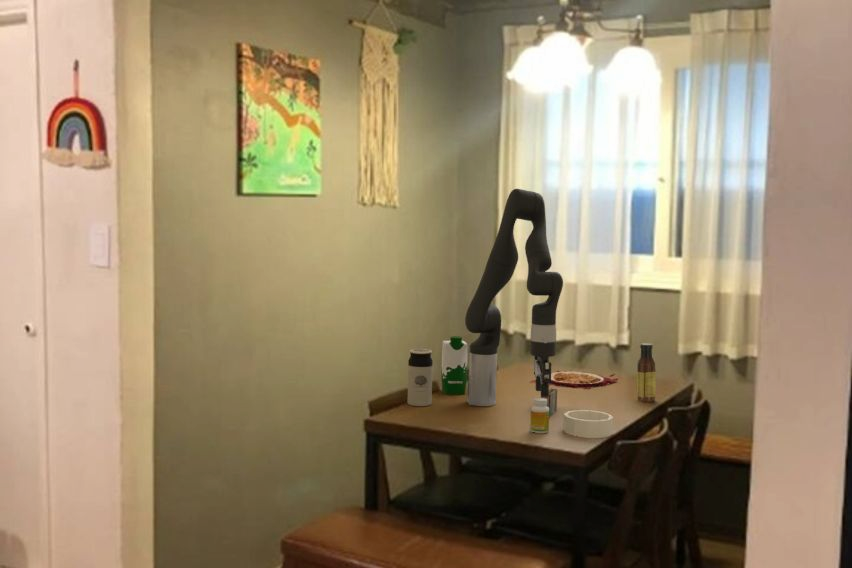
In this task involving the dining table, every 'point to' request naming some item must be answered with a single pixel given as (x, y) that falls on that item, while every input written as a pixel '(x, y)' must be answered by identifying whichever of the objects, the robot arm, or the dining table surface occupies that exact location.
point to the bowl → (588, 424)
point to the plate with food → (578, 379)
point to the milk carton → (454, 366)
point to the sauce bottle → (646, 374)
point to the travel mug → (420, 377)
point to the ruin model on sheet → (551, 401)
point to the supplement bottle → (539, 416)
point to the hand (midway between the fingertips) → (541, 393)
